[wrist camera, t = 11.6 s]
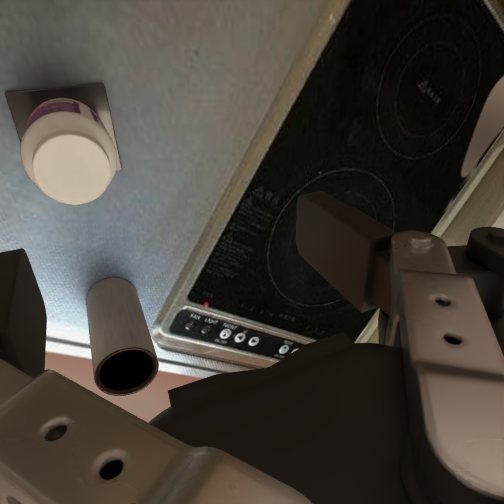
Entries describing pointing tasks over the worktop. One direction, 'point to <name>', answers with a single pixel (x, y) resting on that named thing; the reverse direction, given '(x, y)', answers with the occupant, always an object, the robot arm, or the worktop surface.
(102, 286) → the grey hollow cylinder
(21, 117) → the metal coaster
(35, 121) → the pill bottle
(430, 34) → the worktop surface
